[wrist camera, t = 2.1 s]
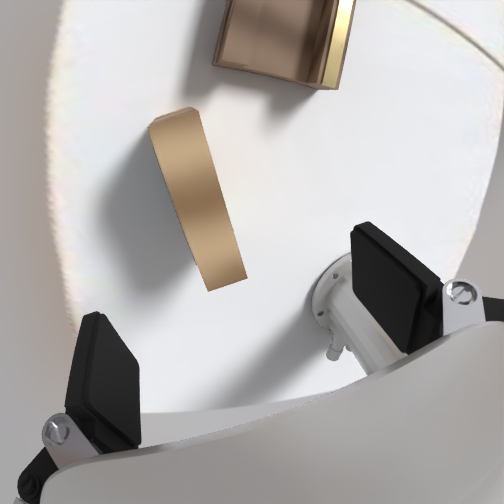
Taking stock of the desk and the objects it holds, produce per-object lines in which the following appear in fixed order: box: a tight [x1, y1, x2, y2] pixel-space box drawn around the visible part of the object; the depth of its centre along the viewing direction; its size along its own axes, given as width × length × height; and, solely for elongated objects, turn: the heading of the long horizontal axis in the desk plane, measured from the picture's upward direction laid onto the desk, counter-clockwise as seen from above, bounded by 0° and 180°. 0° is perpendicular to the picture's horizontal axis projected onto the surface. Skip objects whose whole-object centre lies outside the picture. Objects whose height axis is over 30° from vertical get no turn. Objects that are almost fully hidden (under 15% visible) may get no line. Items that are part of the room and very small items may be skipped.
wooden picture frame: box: [147, 107, 247, 292], centre depth 22 cm, size 12×3×9 cm, turn 14°
